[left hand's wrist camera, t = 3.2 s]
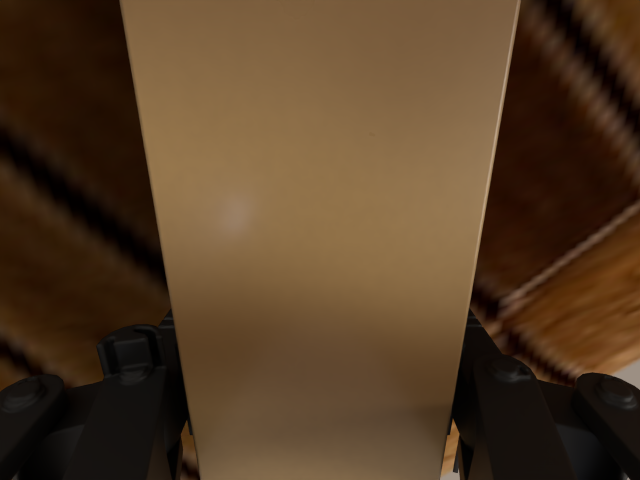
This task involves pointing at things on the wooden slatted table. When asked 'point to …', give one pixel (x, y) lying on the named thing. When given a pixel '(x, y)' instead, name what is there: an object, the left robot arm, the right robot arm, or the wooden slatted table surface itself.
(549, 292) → the wooden slatted table surface
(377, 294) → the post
